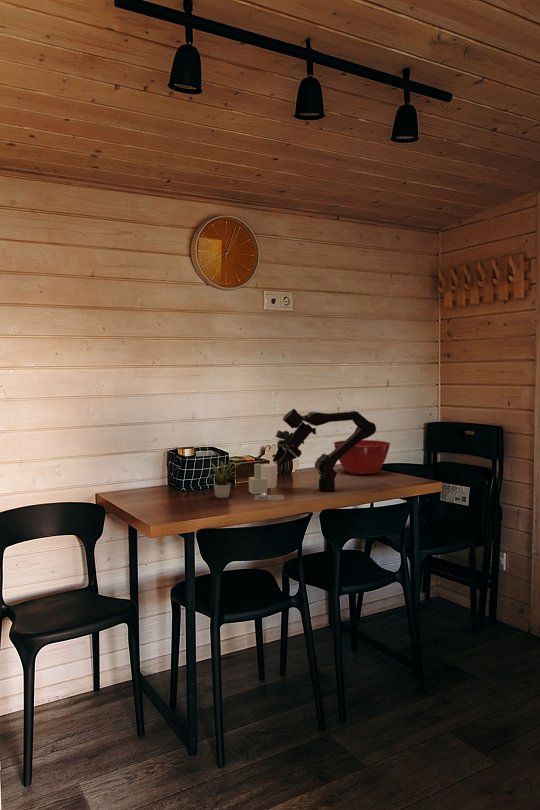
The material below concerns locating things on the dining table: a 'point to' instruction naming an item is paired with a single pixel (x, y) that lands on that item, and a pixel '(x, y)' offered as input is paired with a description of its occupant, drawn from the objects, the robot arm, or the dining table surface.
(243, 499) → the dining table surface
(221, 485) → the house plant
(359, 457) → the mixing bowl
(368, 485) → the dining table surface
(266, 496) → the tea light
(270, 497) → the slate mat
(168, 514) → the dining table surface
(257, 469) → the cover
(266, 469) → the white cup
